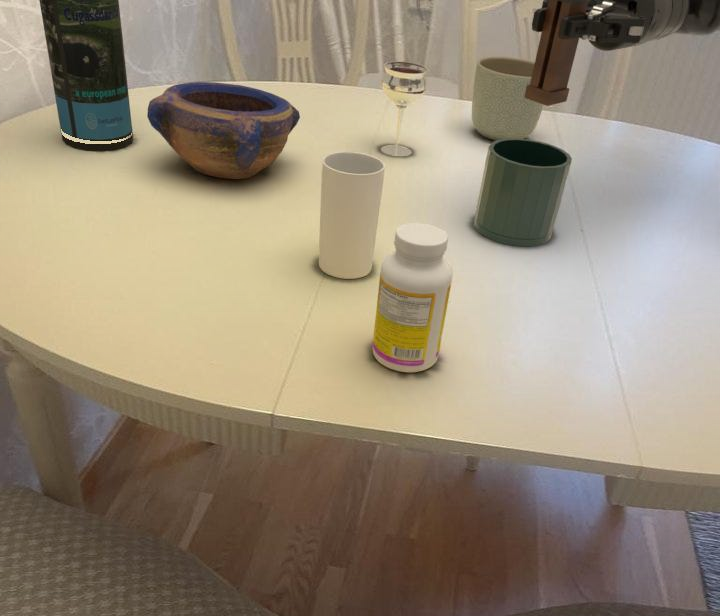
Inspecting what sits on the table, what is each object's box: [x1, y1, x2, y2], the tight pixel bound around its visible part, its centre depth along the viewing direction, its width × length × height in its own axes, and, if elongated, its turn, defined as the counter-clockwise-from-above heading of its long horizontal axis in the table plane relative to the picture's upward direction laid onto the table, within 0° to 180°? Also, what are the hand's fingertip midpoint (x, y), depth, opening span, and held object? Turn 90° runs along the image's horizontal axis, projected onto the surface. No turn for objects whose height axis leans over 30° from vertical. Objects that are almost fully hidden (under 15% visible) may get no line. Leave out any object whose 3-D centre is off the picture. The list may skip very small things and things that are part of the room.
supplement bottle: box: [372, 222, 453, 373], centre depth 71 cm, size 7×7×13 cm
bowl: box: [146, 81, 301, 180], centre depth 105 cm, size 18×18×10 cm
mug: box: [318, 151, 386, 280], centre depth 86 cm, size 10×7×12 cm, turn 157°
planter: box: [471, 55, 545, 141], centre depth 127 cm, size 12×12×11 cm
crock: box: [473, 138, 573, 247], centre depth 98 cm, size 10×10×10 cm
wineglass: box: [380, 60, 429, 157], centre depth 116 cm, size 7×7×12 cm
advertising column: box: [38, 0, 134, 153], centre depth 102 cm, size 11×11×30 cm
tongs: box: [524, 0, 591, 107], centre depth 87 cm, size 4×4×15 cm
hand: (549, 24), depth 85 cm, fingers closed on tongs, 3 cm apart
